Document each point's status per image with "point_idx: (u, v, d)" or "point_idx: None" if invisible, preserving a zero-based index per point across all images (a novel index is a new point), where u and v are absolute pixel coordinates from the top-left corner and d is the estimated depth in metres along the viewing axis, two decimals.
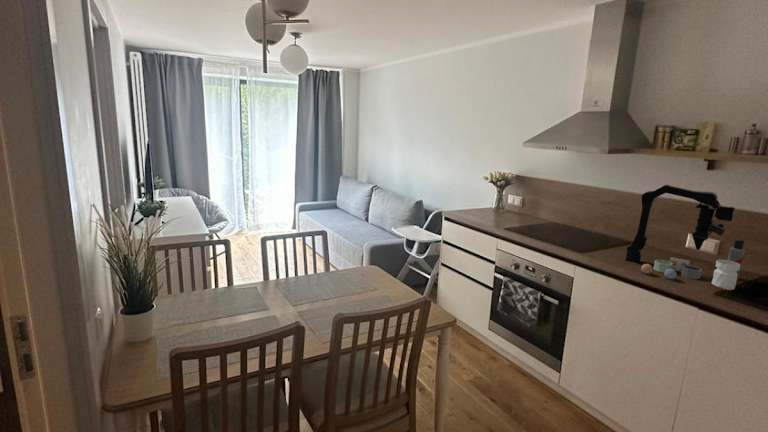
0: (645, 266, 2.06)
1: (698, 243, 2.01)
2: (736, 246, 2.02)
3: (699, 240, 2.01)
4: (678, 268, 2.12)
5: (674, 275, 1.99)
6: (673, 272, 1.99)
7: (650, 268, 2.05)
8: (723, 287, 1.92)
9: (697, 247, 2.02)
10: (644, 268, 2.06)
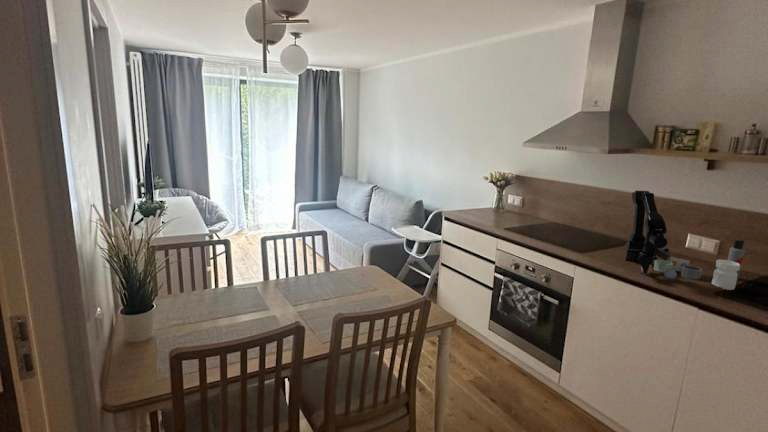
0: None
1: (645, 266, 2.05)
2: (736, 246, 2.02)
3: (646, 264, 2.04)
4: (678, 268, 2.12)
5: (674, 275, 1.99)
6: (673, 272, 1.99)
7: (650, 268, 2.05)
8: (723, 287, 1.92)
9: (644, 270, 2.06)
10: None
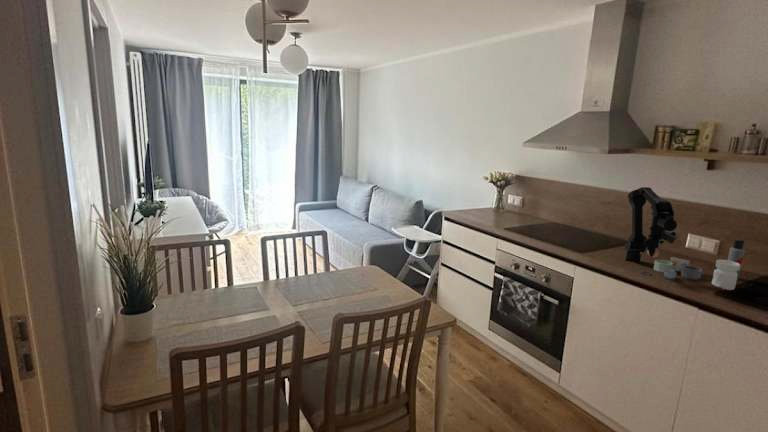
0: None
1: (651, 250, 2.04)
2: (736, 246, 2.02)
3: (652, 247, 2.04)
4: (678, 268, 2.12)
5: (674, 275, 1.99)
6: (673, 272, 1.99)
7: (656, 252, 2.05)
8: (723, 287, 1.92)
9: (650, 254, 2.05)
10: None
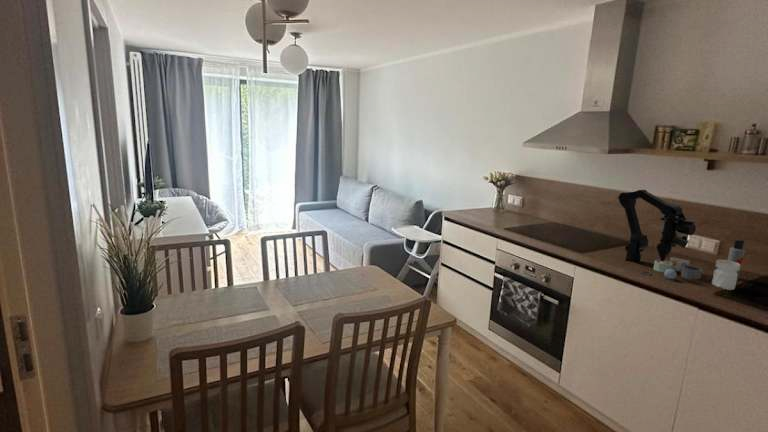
0: None
1: (662, 255, 2.07)
2: (736, 246, 2.02)
3: (663, 252, 2.07)
4: (678, 268, 2.12)
5: (674, 275, 1.99)
6: (673, 272, 1.99)
7: None
8: (723, 287, 1.92)
9: (662, 259, 2.08)
10: None
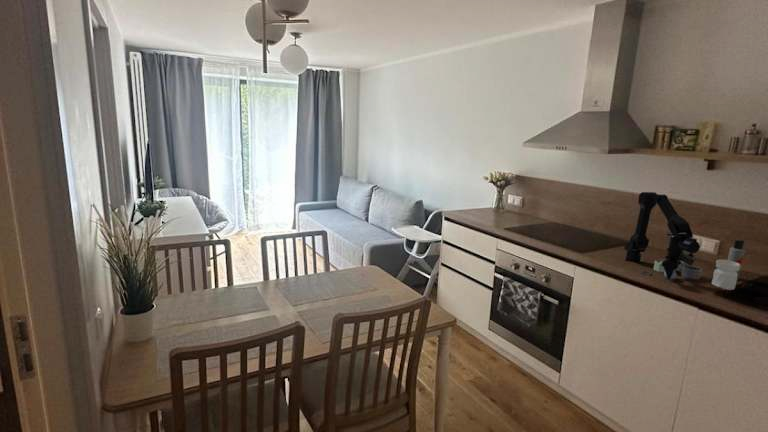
0: None
1: (669, 272, 1.98)
2: (736, 246, 2.02)
3: (670, 269, 1.98)
4: (678, 268, 2.12)
5: (674, 275, 1.99)
6: (673, 272, 1.99)
7: None
8: (723, 287, 1.92)
9: (668, 276, 1.99)
10: None
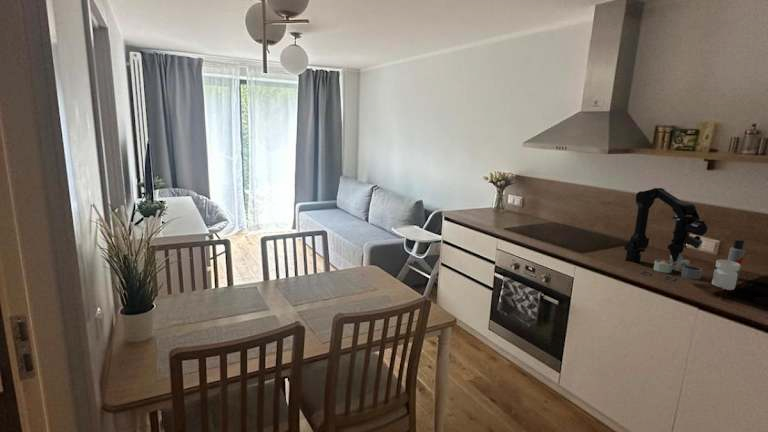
0: None
1: (675, 255, 1.97)
2: (736, 246, 2.02)
3: (675, 252, 1.96)
4: (678, 268, 2.12)
5: (680, 258, 1.97)
6: (679, 255, 1.97)
7: None
8: (723, 287, 1.92)
9: (674, 259, 1.98)
10: None
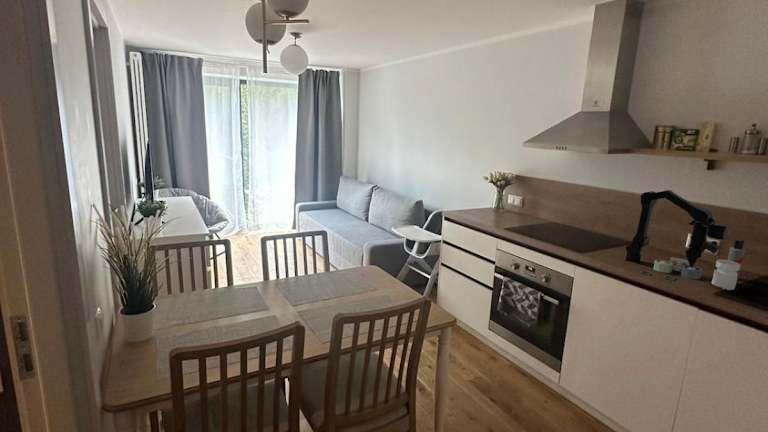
0: None
1: (691, 261, 1.99)
2: (736, 246, 2.02)
3: (692, 258, 1.99)
4: (678, 268, 2.12)
5: None
6: None
7: None
8: (723, 287, 1.92)
9: (690, 265, 2.01)
10: None
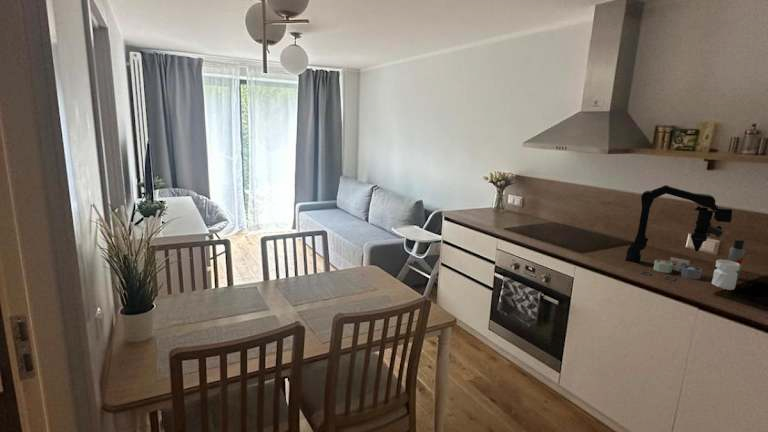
0: None
1: (697, 245, 2.05)
2: (736, 246, 2.02)
3: (698, 242, 2.05)
4: (678, 268, 2.12)
5: None
6: None
7: None
8: (723, 287, 1.92)
9: (696, 248, 2.06)
10: None
